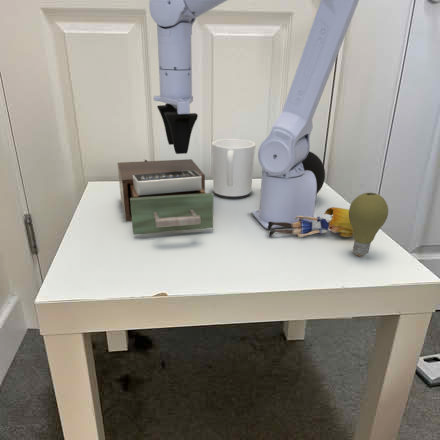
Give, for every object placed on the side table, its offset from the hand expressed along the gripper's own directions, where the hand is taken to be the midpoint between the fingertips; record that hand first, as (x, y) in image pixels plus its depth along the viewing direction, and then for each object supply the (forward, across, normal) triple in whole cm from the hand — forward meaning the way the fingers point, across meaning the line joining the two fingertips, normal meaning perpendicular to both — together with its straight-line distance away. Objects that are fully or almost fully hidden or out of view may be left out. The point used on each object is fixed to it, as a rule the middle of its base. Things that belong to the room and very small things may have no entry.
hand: (177, 148), depth 86 cm
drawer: (+10, +14, -4) cm, 18 cm away
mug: (+11, -2, +12) cm, 16 cm away
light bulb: (+11, +31, +23) cm, 40 cm away
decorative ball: (+11, +4, +24) cm, 27 cm away
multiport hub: (+4, +12, -4) cm, 13 cm away
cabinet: (+10, +3, -4) cm, 12 cm away
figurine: (+11, +22, +19) cm, 31 cm away
